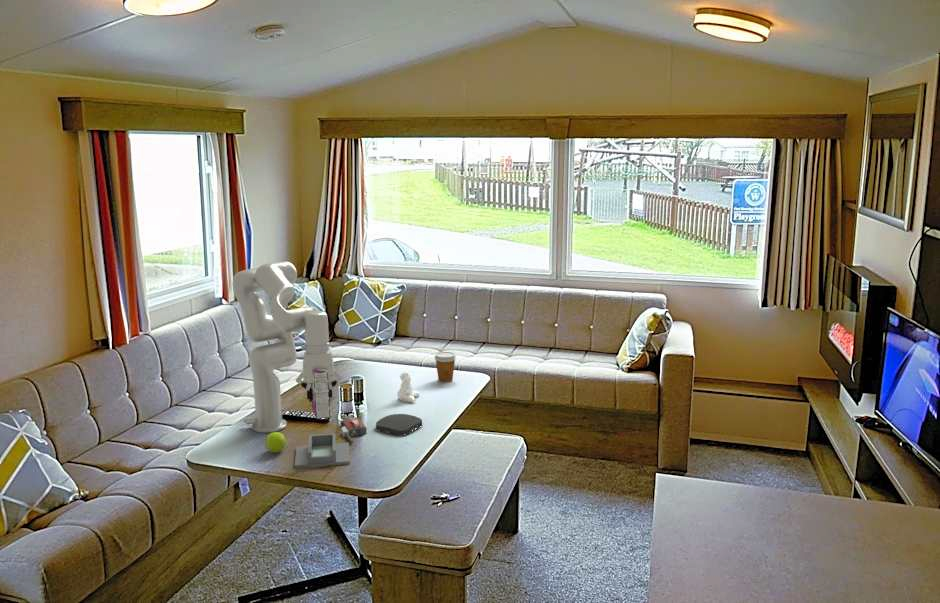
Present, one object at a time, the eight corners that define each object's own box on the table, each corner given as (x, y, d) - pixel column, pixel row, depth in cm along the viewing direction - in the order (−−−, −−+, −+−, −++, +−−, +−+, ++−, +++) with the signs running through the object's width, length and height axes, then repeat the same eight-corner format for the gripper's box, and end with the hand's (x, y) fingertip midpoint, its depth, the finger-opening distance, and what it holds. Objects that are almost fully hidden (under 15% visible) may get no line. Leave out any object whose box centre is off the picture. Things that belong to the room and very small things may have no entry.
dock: (294, 468, 251) (293, 454, 250) (296, 449, 267) (296, 435, 265) (349, 464, 254) (349, 450, 253) (348, 445, 270) (348, 431, 269)
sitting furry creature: (415, 403, 311) (414, 375, 308) (394, 402, 312) (393, 374, 310) (420, 396, 320) (419, 368, 318) (400, 395, 321) (399, 367, 319)
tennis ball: (266, 456, 260) (264, 437, 259) (265, 449, 267) (264, 430, 265) (286, 454, 262) (285, 435, 261) (285, 446, 269) (284, 428, 267)
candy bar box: (310, 408, 261) (308, 362, 258) (325, 406, 263) (323, 361, 259) (315, 419, 251) (313, 372, 248) (330, 417, 253) (328, 370, 249)
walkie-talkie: (335, 426, 288) (349, 446, 270) (334, 415, 287) (348, 434, 269) (358, 423, 291) (373, 442, 273) (357, 412, 290) (372, 430, 272)
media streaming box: (395, 418, 296) (395, 410, 296) (426, 425, 289) (426, 417, 288) (371, 430, 284) (371, 422, 283) (403, 438, 277) (403, 430, 276)
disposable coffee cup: (459, 378, 343) (459, 352, 340) (450, 384, 334) (450, 358, 332) (440, 375, 347) (440, 350, 344) (431, 382, 338) (430, 356, 336)
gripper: (290, 352, 247) (293, 405, 251) (343, 350, 250) (346, 402, 254) (291, 346, 254) (294, 398, 258) (343, 344, 257) (345, 395, 261)
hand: (319, 399), depth 256 cm, fingers closed on candy bar box, 5 cm apart
